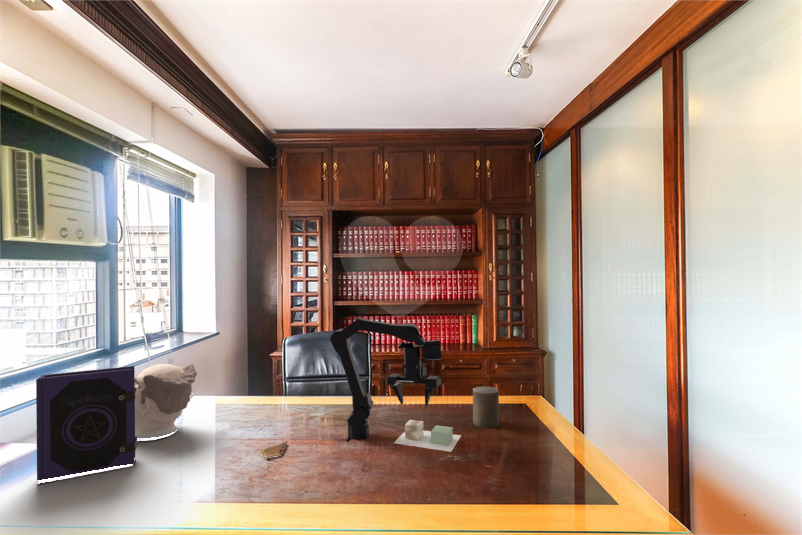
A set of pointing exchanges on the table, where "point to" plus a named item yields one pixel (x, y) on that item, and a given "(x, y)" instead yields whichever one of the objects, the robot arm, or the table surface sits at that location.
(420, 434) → the cream block
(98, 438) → the book
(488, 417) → the pillar candle
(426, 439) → the pale grey board
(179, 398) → the bust
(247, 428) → the table surface
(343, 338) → the robot arm
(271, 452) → the shard
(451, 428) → the green block
